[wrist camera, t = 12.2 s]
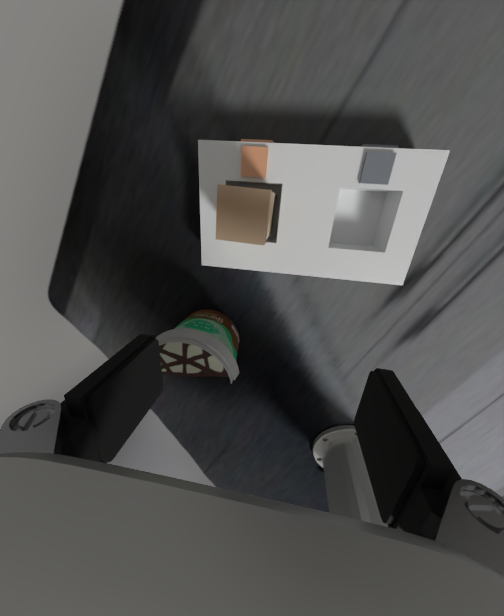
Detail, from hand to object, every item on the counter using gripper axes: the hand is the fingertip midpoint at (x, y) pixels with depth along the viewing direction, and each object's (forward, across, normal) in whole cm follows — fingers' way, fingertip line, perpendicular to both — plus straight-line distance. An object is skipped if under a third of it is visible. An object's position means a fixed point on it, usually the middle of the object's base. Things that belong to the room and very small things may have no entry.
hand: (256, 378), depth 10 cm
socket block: (+22, -2, -7) cm, 23 cm away
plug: (+21, +3, -7) cm, 22 cm away
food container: (+23, +10, +9) cm, 27 cm away
